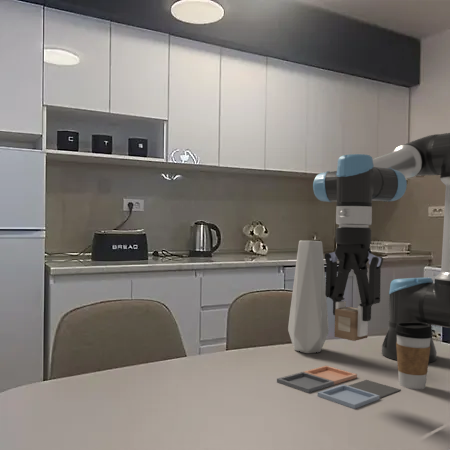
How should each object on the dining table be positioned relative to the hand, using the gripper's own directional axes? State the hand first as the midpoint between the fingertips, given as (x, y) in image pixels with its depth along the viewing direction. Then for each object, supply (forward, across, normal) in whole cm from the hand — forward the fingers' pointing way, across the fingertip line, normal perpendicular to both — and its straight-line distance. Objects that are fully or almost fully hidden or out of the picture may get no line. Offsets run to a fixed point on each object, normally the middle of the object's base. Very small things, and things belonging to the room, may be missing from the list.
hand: (351, 333), depth 110 cm
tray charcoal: (+14, -12, 0) cm, 19 cm away
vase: (+15, -33, +26) cm, 44 cm away
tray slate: (+14, 0, 0) cm, 14 cm away
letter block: (+1, 0, 0) cm, 1 cm away
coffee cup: (+15, +4, +20) cm, 25 cm away
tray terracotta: (+15, -12, +9) cm, 21 cm away
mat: (+15, 0, +9) cm, 17 cm away
